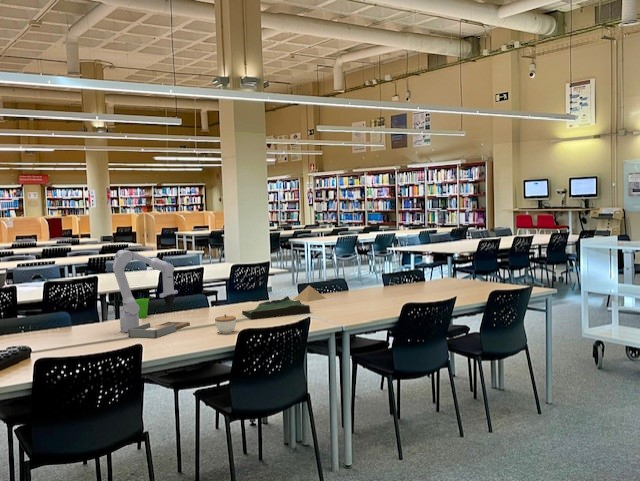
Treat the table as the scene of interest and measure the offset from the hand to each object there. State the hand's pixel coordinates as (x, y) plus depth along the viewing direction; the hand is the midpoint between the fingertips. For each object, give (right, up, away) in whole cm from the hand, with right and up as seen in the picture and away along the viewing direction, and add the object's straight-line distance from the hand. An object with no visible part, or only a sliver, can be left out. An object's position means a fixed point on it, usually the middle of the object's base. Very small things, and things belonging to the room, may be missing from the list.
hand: (169, 308), depth 338 cm
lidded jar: (+36, -10, -27) cm, 46 cm away
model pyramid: (+77, -3, +74) cm, 107 cm away
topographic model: (+58, -6, +22) cm, 62 cm away
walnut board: (+3, -10, -8) cm, 13 cm away
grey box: (-3, -11, -23) cm, 25 cm away
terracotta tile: (-1, -10, -18) cm, 21 cm away
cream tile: (-4, -11, -24) cm, 26 cm away
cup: (-23, -9, +28) cm, 37 cm away
